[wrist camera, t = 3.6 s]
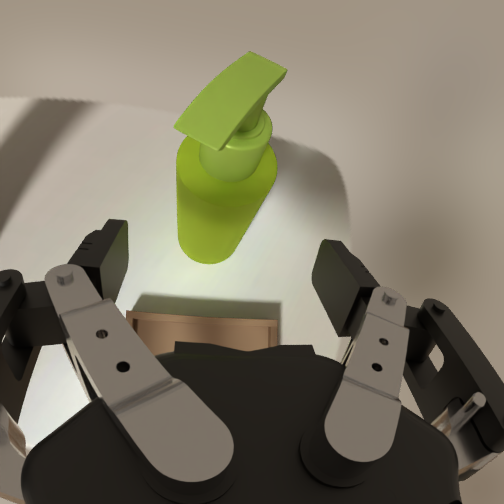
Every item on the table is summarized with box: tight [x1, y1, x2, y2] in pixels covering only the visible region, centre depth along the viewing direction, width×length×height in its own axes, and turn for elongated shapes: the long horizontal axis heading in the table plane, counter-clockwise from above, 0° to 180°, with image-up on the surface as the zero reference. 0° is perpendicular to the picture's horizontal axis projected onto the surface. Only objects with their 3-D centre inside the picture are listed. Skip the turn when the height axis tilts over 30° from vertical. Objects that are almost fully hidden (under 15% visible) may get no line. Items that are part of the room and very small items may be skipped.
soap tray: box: [126, 310, 278, 356], centre depth 24 cm, size 13×11×2 cm
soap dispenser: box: [174, 51, 287, 264], centre depth 20 cm, size 6×7×20 cm
